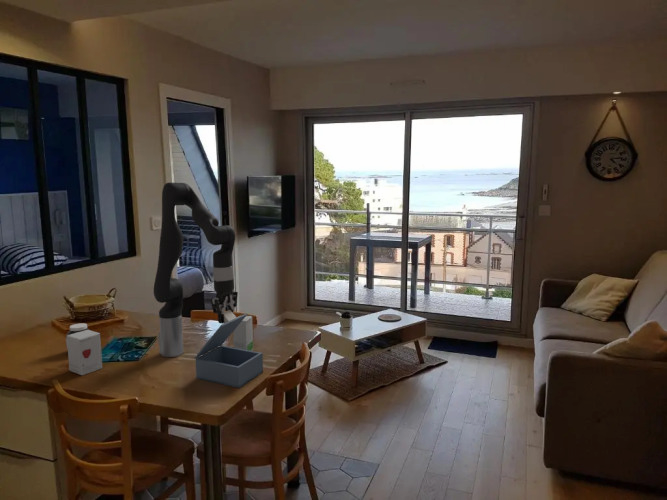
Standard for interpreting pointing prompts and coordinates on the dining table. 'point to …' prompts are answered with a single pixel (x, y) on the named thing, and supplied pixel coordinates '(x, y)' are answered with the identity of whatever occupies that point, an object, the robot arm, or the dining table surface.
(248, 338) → the skincare box
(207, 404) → the dining table surface
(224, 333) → the carton flap
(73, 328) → the spread jar
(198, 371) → the carton
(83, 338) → the supplement box
